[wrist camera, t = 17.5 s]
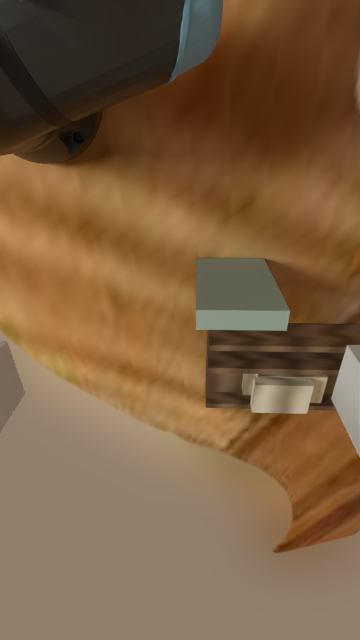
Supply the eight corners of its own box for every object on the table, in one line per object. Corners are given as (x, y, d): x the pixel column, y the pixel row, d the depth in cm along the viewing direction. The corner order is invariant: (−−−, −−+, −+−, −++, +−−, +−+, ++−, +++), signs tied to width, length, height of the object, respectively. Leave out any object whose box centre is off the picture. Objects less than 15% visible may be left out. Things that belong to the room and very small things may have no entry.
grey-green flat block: (196, 273, 50) (195, 329, 36) (196, 258, 49) (196, 310, 35) (261, 274, 50) (286, 330, 36) (263, 258, 48) (290, 310, 35)
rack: (205, 390, 62) (206, 416, 57) (207, 322, 55) (208, 345, 49) (344, 392, 61) (359, 419, 55) (367, 324, 53) (387, 347, 48)
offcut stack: (241, 387, 60) (245, 412, 54) (244, 360, 56) (249, 384, 51) (314, 388, 59) (325, 414, 54) (321, 362, 56) (333, 386, 51)
